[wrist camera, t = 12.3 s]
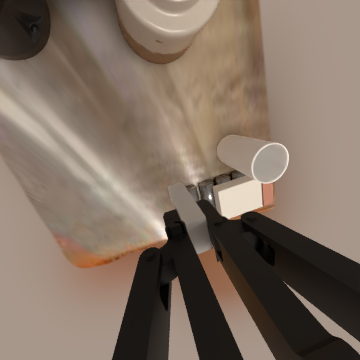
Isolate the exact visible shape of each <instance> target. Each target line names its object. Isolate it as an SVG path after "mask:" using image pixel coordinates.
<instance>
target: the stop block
mask: <svg viewBox="0 0 360 360" xmlns="http://www.w3.org/2000/svg"><path fill="white" fill-rule="evenodd" d="M261 189H262V205H263V206H265V205H268V204H271V203H273V182H272V183H268V184H264V183H261Z"/></svg>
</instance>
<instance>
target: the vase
mask: <svg viewBox="0 0 360 360" xmlns="http://www.w3.org/2000/svg"><path fill="white" fill-rule="evenodd" d="M218 3H219V0H115V4H116V10H117V15H118V20H119V24H120V27H121V30H122V33H123V35H124V37H125V39H126V40H127V42H128V44H129V45H130V46H131V48H132V49H133V50H134V51H135V52H136V53H137V54H138V55H139V56H141V57H142V58H144V59H146V60H148V61H150V62H153V63H159V64H164V63H169V62H172V61H174V60H176V59H178V58H179V57H180V56H182V55H183V54H184V53H185V51H186V50H187V49H188V48H189V46H190V45H191V44H192V42H193V41H194V40H195V39H196V37H197V36H198V35H199V33H200V32H201V31H202V29H203V28H204V27H205V26H206V24H207V23H208V21H209V20H210V19H211V17H212V15H213V14H214V12H215V10H216V8H217V6H218Z"/></svg>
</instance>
